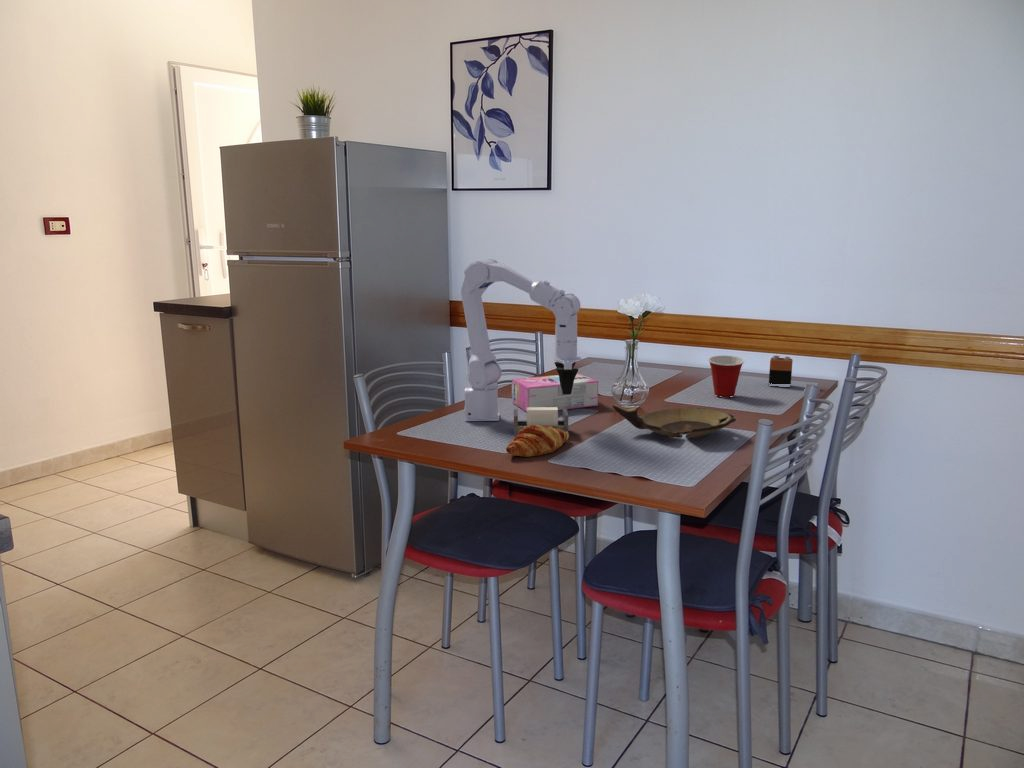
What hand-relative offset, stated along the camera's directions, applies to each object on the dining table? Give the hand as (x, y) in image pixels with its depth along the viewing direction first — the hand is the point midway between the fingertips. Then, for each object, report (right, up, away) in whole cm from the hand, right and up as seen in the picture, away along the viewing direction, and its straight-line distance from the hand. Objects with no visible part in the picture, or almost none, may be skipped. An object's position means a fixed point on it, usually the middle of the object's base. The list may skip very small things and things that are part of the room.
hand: (565, 391), depth 209 cm
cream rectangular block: (-7, -10, -4) cm, 13 cm away
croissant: (-8, -15, -18) cm, 25 cm away
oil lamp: (+28, -11, -5) cm, 31 cm away
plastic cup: (+52, -2, +35) cm, 63 cm away
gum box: (+1, -2, +19) cm, 19 cm away
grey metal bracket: (-7, -11, -4) cm, 14 cm away
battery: (+74, +1, +49) cm, 89 cm away
